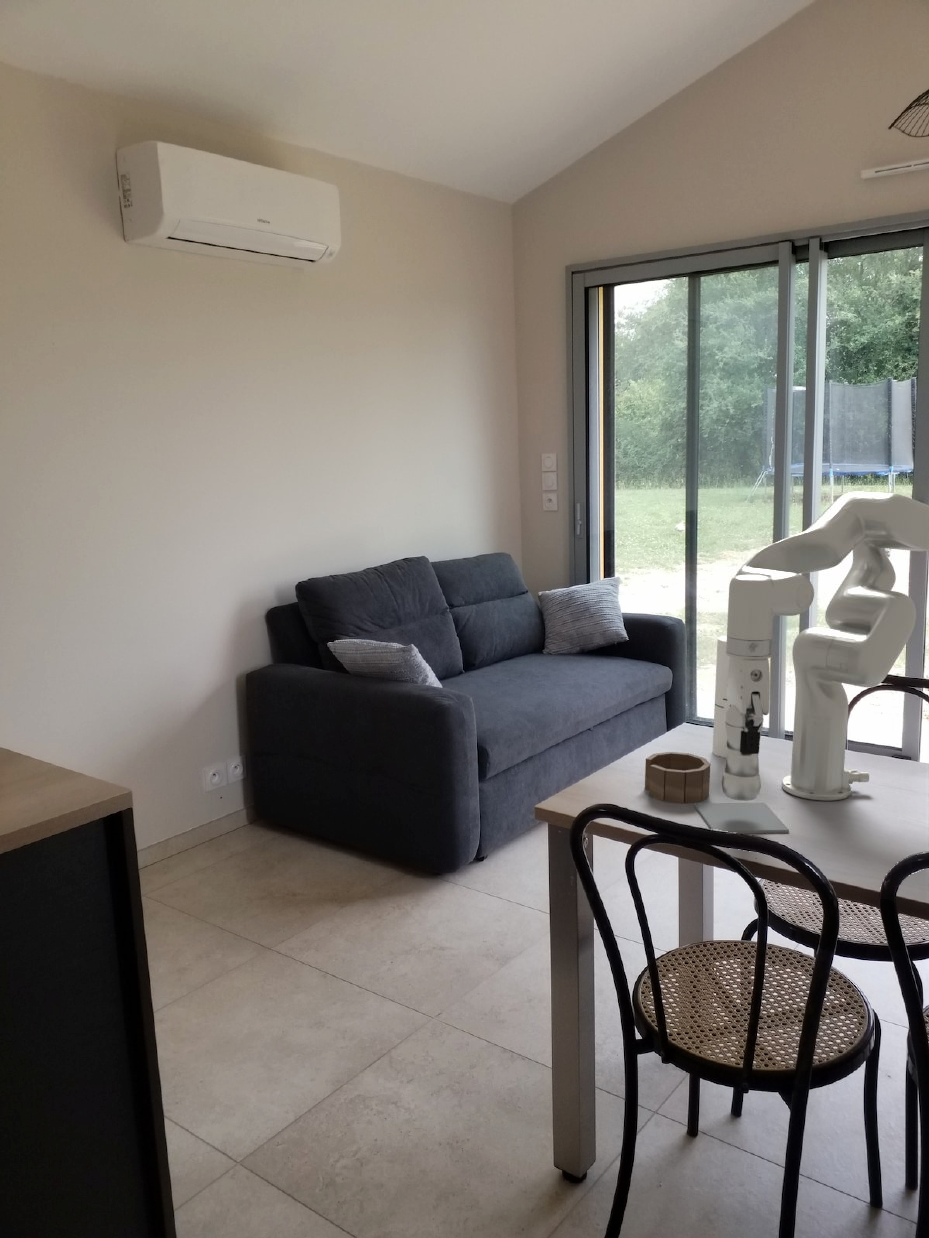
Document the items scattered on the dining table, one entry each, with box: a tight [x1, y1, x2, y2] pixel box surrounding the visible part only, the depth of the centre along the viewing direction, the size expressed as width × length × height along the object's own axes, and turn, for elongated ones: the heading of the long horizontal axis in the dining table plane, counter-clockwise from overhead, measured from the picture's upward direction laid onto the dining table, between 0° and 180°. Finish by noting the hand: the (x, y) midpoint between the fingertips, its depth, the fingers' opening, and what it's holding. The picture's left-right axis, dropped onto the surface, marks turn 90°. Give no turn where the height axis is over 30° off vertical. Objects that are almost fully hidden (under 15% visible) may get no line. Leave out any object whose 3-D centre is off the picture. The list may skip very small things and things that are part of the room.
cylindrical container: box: [712, 635, 730, 759], centre depth 213 cm, size 7×7×25 cm
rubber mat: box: [693, 802, 790, 834], centre depth 178 cm, size 13×13×1 cm
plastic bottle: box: [721, 704, 764, 802], centre depth 176 cm, size 6×7×20 cm
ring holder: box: [644, 751, 711, 804], centre depth 191 cm, size 12×12×6 cm
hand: (743, 746), depth 176 cm, fingers closed on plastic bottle, 6 cm apart
